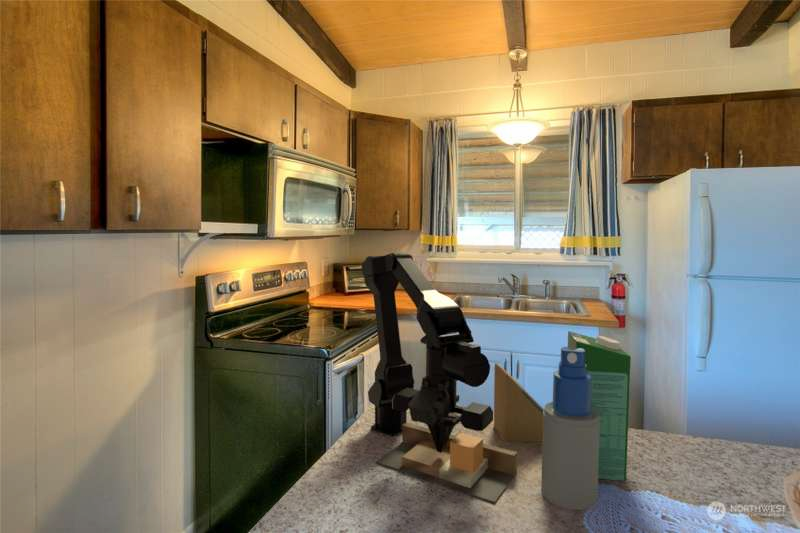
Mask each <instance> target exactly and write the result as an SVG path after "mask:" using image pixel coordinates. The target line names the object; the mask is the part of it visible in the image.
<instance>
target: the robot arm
mask: <svg viewBox="0 0 800 533" xmlns="http://www.w3.org/2000/svg"><path fill="white" fill-rule="evenodd" d="M361 273H362V275H363V279H364V285H365V287H367V288H368V290H369V291H370V293H371V294H372V296H373V304H374V312H375V313H374V314H375V321H376V330H377V331H376V332H377V340H378V349H379V361H378V364H377V366H376V368H375V370H374V382H373V384H372V385H371V386H370V388H369V389H368V391H367V398H368V401H369V403H370V404H372V405H374V424H373V425H371V426H370V430H373V431H377V432H379V433H383V434H386V435H390V436H396V435H398V434H399V433H400V432H402V425H403V424H405V423H408V421H407V418H408V417H407V414H408V413H407V411H408V410H409V416H410V419H411V421H412V422H416V423H417V422H419V423H423V424H424V425H426V426H427V428H428V429H429V430H430V432H431V435H432V438H433V441H434V444H435V446H436V449H437V452H440V453H442V452H443V451H444V449H445V446H446V444H447V442H448V439H449V437H450V435H452V432H453V430H454V428H455V426H457V425H458V424H459V423H460V424H461V425H462V427H464V428H465V429H469V430H472V431H476V432H483V431H484V430H486V428H487V427H488V426H489V425H491V423H492V422H494V409H493V408H492V407H491V406H490V405H488V404H483V403H479V402H473V401H472V402H471V403H469V404H468V405H466V407H465V406H463V405H460V404H457V403H458V402H459V401H460V395H459V394H457V385H458V384H457V381H459V382H461V383H463V384H465V385H467V386H469V387H472V388H478V387H480V386H482V385H483V384H484V383H485V382H486V381H487V379H488V377H489V375H490V371H491V363H490V361H489V359H488V357H487V355H485V354H484V353H482V347H481V345H478V344H472V343H474V342H475V341H474V337H473V335H472V331H471V328H470V327H469V325H468V323H467V321H466V317H465V315H464V313H463V311H462V309H461V307H460V306H459V304H457V303H456V302H455V301H454V300H453V299H452V298H450V297H448V296H447V295H445V294H442V293H440V292H438V290H436V288H435V287H434V286H433V285H432V284H431V282H430V281H429V279H428V278H427V277H426V275H424V273H423V272H422V270H421V269H420V268H419V266H418V265H417V264H416V263H415V261H414V258H413V255H412V254H411V253H408V252H405V251H404V252H390V253H387V254H385V255H370V256H366V258H365V260H364V261H363V262H362V263H361ZM399 284H400V285H401V287H402V288H403V289H404V291H405V293H406V294H407V295H408V297H409V299H410V300H411V301H412V302H413V304H414V306H415V308H416V316H415V318H416V321H417V323H418V325H419V326H420V328H421V330H422V331H423V334H424V335H423V337H421V338H420V343H421V344H424V345H425V346H426V347H425V376H424V377H422V381H421V386H420V389H414V388H415V379H414V376H413V375H414V373H413V365H412V364H411V363H408V362H407V361H406V360H405V358H404V357H403V354H402V344H401V338H400V328H399V318H398V311H397V301H396V290H397V288H398V286H399ZM457 333H458V334H457Z"/></svg>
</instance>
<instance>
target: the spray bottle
mask: <svg viewBox="0 0 800 533" xmlns="http://www.w3.org/2000/svg"><path fill="white" fill-rule="evenodd" d="M591 381H592V377H591V375H590V374H588V373H587V365H586V364H585V350H584V349H582V348H576V349H569V348H568V346H563V347H561V348H560V361H559V362H558V369H557V370H554V371H553V382H552V385H553V386H552V402H549V403H548V402H547V403H546V404H545V405H544V408H543V409H544V411H543V441H541V442H542V447H541V448H542V451H541V455H542V456H541V485H540V486H541V488H540V490H541V491H540V492H541V493H542V495H543V497H544V498H545V499H546V500H548V501H549V502H551V503H552V504H554V505H556V506H558V507H561V508H565V509H570V510H574V511H576V510H579V511H582V510H588V509H592V508H593V507H595V506H596V504H597V502H598V490H599V478H598V466H599V434H600V419H599V415H598V412H597V411H596V410H595V409H593V408H591Z"/></svg>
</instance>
